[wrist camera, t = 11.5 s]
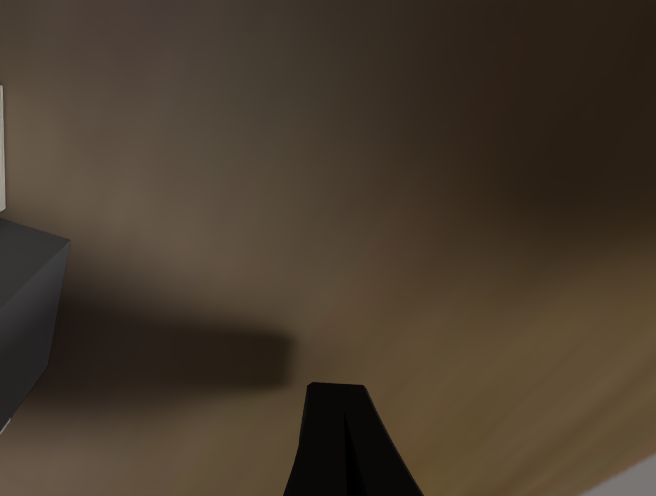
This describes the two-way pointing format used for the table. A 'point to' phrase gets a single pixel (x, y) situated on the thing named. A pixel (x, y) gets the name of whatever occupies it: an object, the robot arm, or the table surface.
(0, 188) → the socket box
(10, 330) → the plug
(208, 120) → the table surface
